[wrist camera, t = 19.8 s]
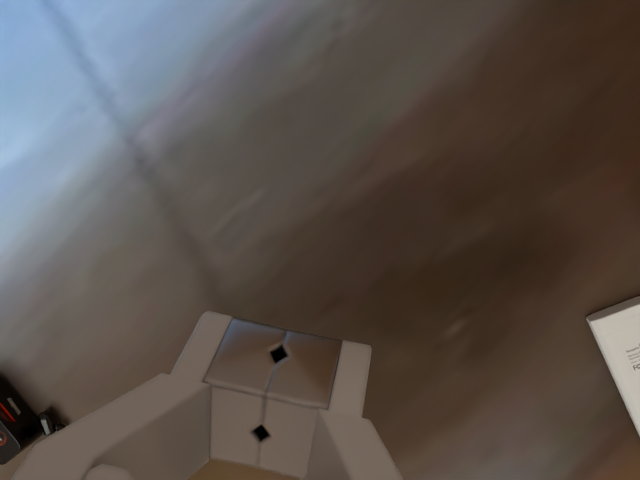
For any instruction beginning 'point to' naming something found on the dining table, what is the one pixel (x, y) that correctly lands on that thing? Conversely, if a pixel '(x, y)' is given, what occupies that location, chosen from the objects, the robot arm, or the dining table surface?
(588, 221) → the dining table surface
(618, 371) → the hard drive
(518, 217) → the dining table surface
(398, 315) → the dining table surface
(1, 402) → the wireless earbuds
